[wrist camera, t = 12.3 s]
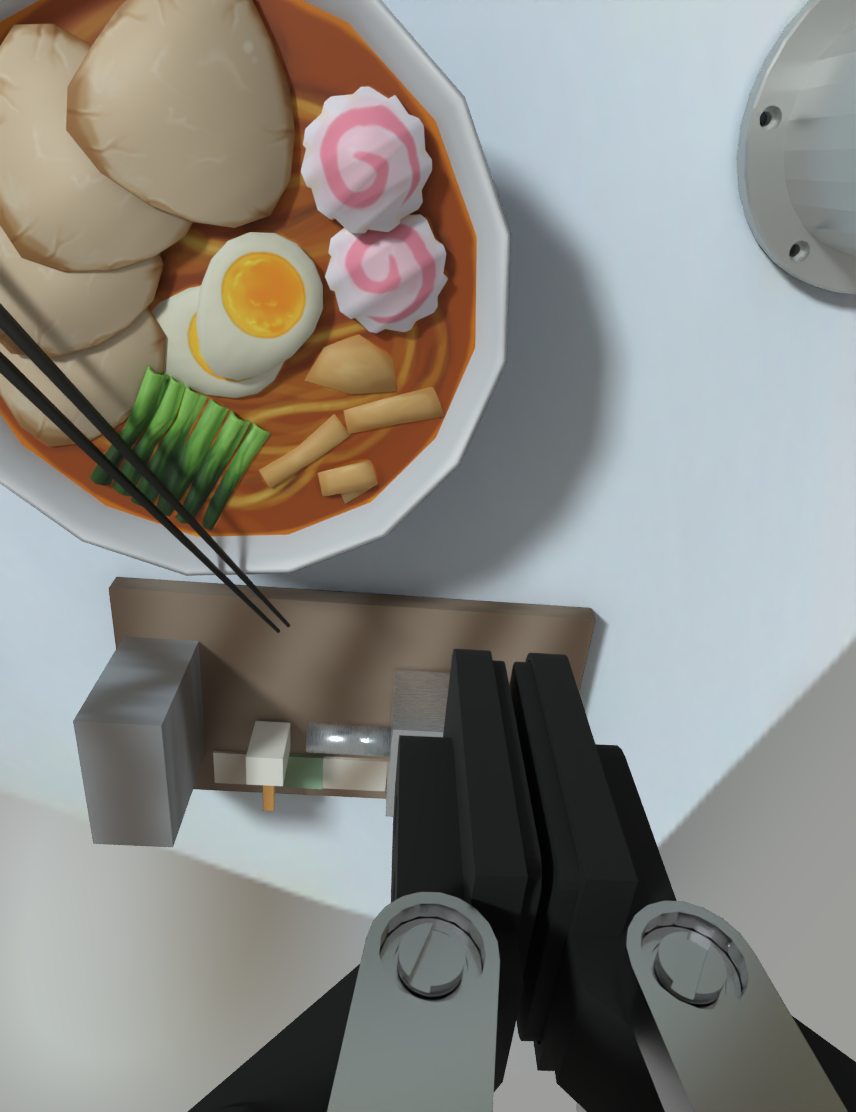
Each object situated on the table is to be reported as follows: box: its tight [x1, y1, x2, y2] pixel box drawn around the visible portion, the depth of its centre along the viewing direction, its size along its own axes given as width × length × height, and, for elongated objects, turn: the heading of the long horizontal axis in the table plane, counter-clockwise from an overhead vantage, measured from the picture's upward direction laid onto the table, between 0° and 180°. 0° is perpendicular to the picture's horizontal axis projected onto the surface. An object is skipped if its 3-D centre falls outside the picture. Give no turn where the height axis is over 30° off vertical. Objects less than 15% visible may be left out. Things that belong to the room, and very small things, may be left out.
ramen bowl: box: [0, 0, 511, 633], centre depth 30 cm, size 25×23×8 cm
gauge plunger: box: [306, 670, 450, 817], centre depth 42 cm, size 10×6×5 cm, turn 85°
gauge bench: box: [73, 577, 595, 847], centre depth 41 cm, size 26×14×8 cm, turn 85°
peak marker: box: [246, 721, 290, 811], centre depth 44 cm, size 2×5×3 cm, turn 175°
